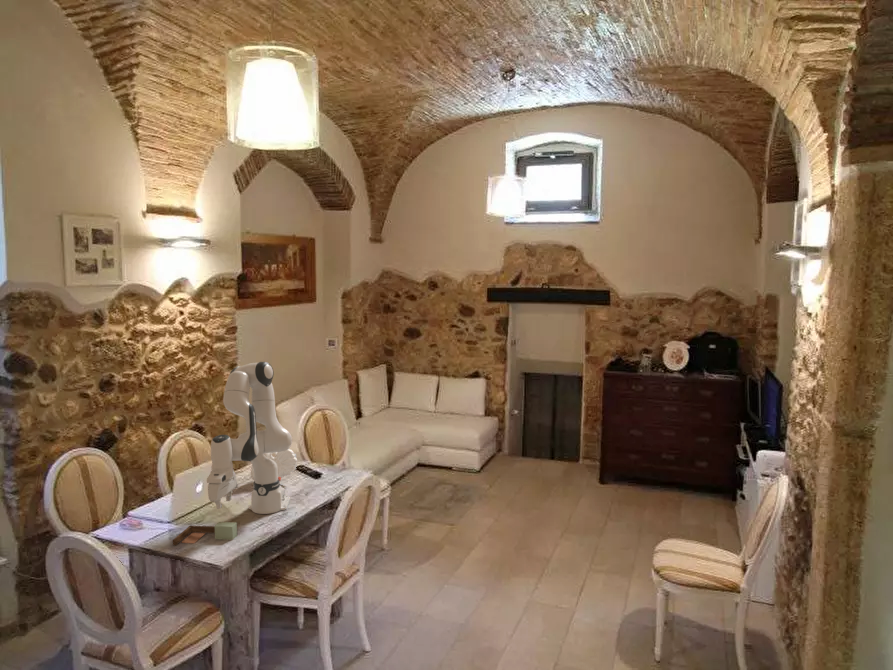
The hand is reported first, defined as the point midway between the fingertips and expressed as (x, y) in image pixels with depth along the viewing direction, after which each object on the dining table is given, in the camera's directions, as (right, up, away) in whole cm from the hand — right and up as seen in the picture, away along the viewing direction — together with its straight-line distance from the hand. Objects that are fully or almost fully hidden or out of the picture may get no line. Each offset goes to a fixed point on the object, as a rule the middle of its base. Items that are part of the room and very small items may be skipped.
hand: (224, 504), depth 280 cm
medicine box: (+5, -5, +95) cm, 95 cm away
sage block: (0, -15, +2) cm, 15 cm away
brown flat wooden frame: (-13, -15, +1) cm, 20 cm away
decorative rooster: (+3, -7, +70) cm, 70 cm away
